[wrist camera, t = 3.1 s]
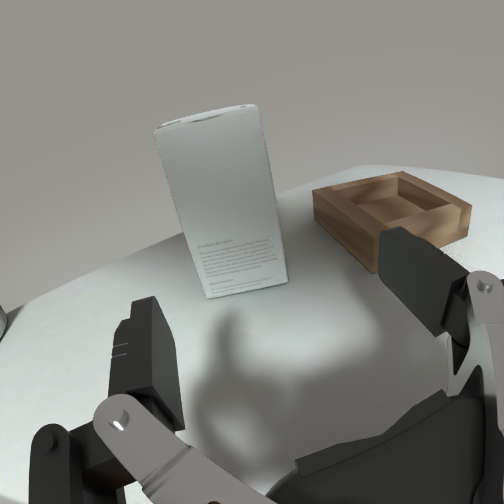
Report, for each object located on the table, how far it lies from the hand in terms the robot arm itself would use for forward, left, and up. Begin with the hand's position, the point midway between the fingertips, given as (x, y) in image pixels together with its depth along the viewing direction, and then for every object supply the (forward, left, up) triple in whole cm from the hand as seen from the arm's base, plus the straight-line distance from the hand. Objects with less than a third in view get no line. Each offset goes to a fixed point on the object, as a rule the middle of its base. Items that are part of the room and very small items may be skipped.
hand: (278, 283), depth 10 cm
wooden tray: (+14, +12, -7) cm, 20 cm away
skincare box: (0, +11, -7) cm, 13 cm away
